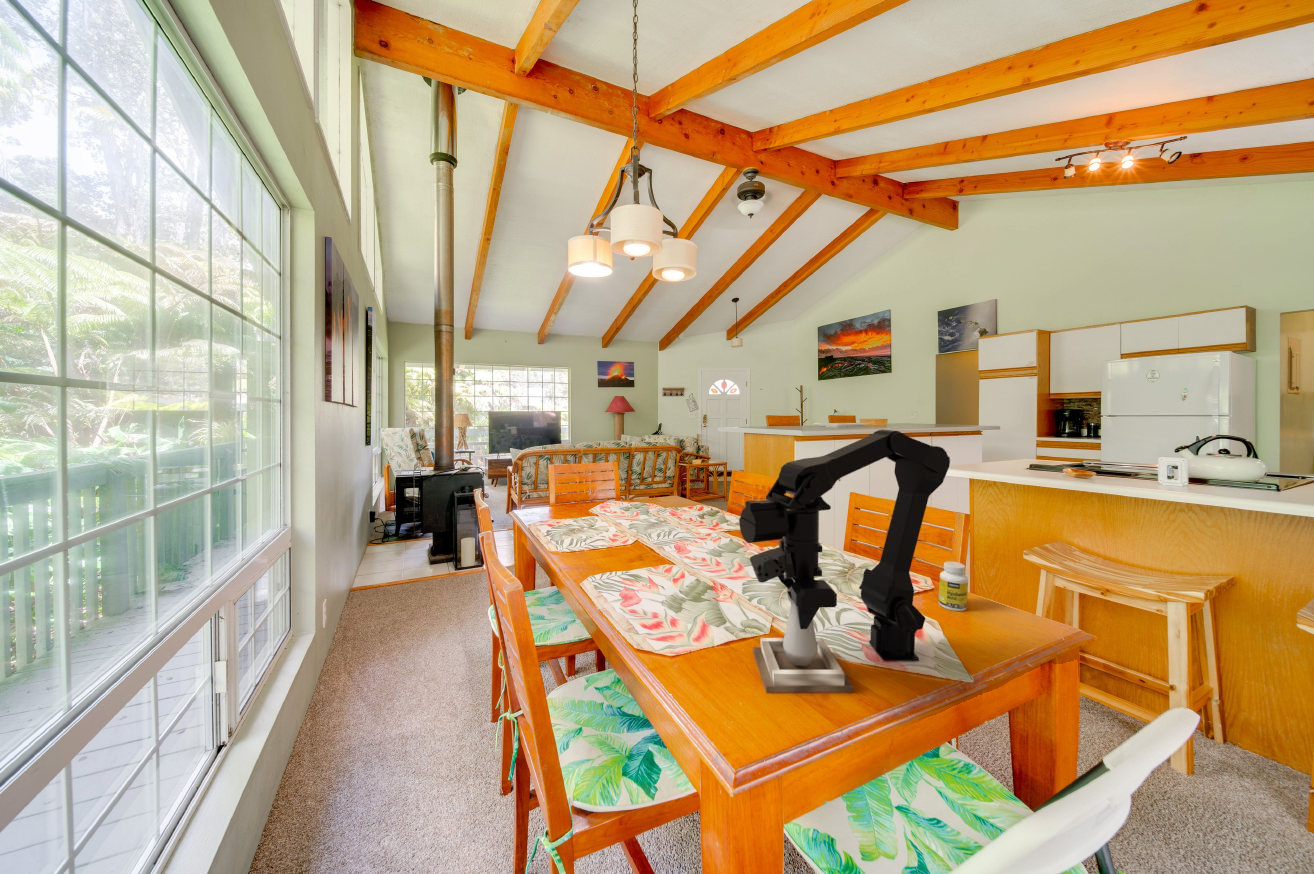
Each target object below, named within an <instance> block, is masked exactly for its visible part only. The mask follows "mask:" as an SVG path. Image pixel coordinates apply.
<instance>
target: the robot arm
mask: <svg viewBox="0 0 1314 874" xmlns="http://www.w3.org/2000/svg"><path fill="white" fill-rule="evenodd" d="M884 458H887V459H888V460H890V461H892V462H893V463H895V464H894V471H893V472H894V475H895V479H896V482H897V483H896V484H897V486H898V491H897V495H896V499H895V502H894V507H893V510H892V514H891V519H890V521H889V526H888V529H887V534H886V537H885V542H884V545H883V549H882V553H881V556H880V560H879V563H878V564H877V565H876V566H874V567H873V568H872V569H869V568H865V569H864V571H863V573H862V574H863V576H862V581H861V584H860V585H859V587H858V589H859V590H860V599H861V600H862V602H863V604H864V605H865V606H866V610H867V612H868V613H869V614H871V615H873V624H871V625H870V640H869V641H868V643H869V645H870V646H871V647H872V649H873V650H874V651H875V652H876V654H877V655H878V656H879V658H880V659H881V660H882V661H884V662H919V661H920V658H919V656H918V655H917V654H916V653H915V649H916V648H915V645H916V644H915V643H916V641H915V640H916V633H917V631H918V630H919V631H920V630H923V627H924V624H925V622H926V617H925V615H923V613H921V612H920V611H919V609H917V608H916V607H915V605H913V603H914V595H915V589H914V586H913V582H912V577H911V575H910V570H911V567H912V562H913V558H914V555H915V550H916V546H917V543H918V539H919V536H920V531H921V528H922V523H923V521H924V517H925V514H926V509H927V506H928V502H929V498H930V497H931V495H932V494H933V493H934V492H935V491H936V490H937V489H938V488H939V487H940V486H941V485H942V484H943V483H944V480H945V478H946V475H947V473H948V471H949V468H950V465H951V464H950V463H951V458H950V456H949V455H948V452H947V451H946V450H945V449H944V447H941V446H938V445H930V444H928V443H925V442H923V441H920V440H917V439H915V438H914V437H913V438H912V437H910V436H908V435H906V434H905V433H902V431H899V430H893V429H891V430H890V429H878V430H876V431H874V432H873V433H872V434H870V435H868V436H866V437H863V438H861V439H859V440H857V441H855V442H851V443H850V444H847V445H845V446H842V447H840V448H838V449H836V450H833V451H832V452H829V453H827V454H825V455H821V456H815V457H807V458H801V459H800V458H799V459H797V460H792V461H788V462H786V463H785V464H783V465H782V466H781V467H780V470H779V471H780V472H779V474H778V477H777V478H776V480H775V482H774V483H773V485H772V487H771V488H770V490H769V491H768V493H767V494H766V496H765V499H764V500H754V499H753V500H752V499H751V500H746V501H745V507H744V508H743V509H742V510H741V512H740V517H739V521H738V522H739V530H740V533H741V536H742V538H743V540H744V541H745V542H746V544H747V543H748V544H754V543H763V542H769V541H771V542H772V541H779V542H778V547H776V548H771V549H768V550H765V551H762V552H759V553H757V554H754V555H752V556H750V557H749V562H750V563H751V566H752V569H753V572H754V574H755V576H756V579H757V581H758V582H759V583H765V582H768V581H769V580H772V579H774V578H778V579H779V581H780V583H782V584H783V586H785V587H786V589H787V591H786V593H787V596H788V595H789V596H790V598H791V599H792V600H793V601H794V603H795V605H796V608H797V614H798V620H799V625H800V629H807V628H808V627H809V625H810V623H811V621H812V620H813V621H814V618H815V616H816V615H817V613H818V611H819V609H820V608H835V607H837V605H838V603H837V601H838V594H837V593H836V592H835V590H834V589H833V588H832V587H831V585H830V584H829V583H828V582H826V580H824V579H815V577H823V570H822V568H821V567H820V566H819V554H820V553H823V545H821V544H820V541H819V539H820V538H819V537H820V536H819V535H820V533H819V532H820V531H819V530H820V525H819V524H820V522H819V521H820V511H822V512H823V511H829V510H831V509H832V508H831V505H830V504H828V503H827V502H826V501H825V500H824V499H823V495H825V494H826V493H828V492H829V491H830V490H832V489H833V487H834V486H835V484H836V483H837V481H839V480H840V479H842V478H843V477H846V476H847V475H850V474H852V473H855V472H856V471H857V472H858V471H859V470H861V469H863V468H866V467H867V466H870V465H871V464H874V463H876V462H878V461H881V460H883V459H884ZM786 494H788V495H786ZM789 495H790V496H789ZM791 495H792V496H791ZM790 587H791V591H788V589H789V588H790Z"/></svg>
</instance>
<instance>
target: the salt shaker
mask: <svg viewBox="0 0 1314 874" xmlns="http://www.w3.org/2000/svg"><path fill="white" fill-rule="evenodd" d="M787 591H791V587H790V588H789V589H788V590H787ZM787 599H788V601H789V602H790V608H789V613H788V618H787V623H786V627H785V631H784V636H783V638H784V641H783V648H784V651H785V654H786V656H787V658H788V660H789V661H790V662H792V663H793V664H795V665H800V666H807V665H809V664H810V663H812V662H813V660H814V658H815V656H816V654H817V651H818V648H817V642H816V638H817V637H816V633H815V632H816V631H815V626H814V625H815V624H814V619H813V620H812V621H811V623H810V625H809V627H808V628H807V629H800V625H799V620H798V614H797V608H796V605H795V603H794V601H793V600H792V599H791V598H790V596H789V595H788V594H787Z"/></svg>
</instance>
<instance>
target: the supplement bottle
mask: <svg viewBox="0 0 1314 874" xmlns="http://www.w3.org/2000/svg"><path fill="white" fill-rule="evenodd" d="M965 572H966V566H965V565H964V564H963V563H960V562H957V561H945V562H944V563H943V571H941V572H940V574H939V582H938V583H939V586H938V589H939V590H938V605H939V606H940V607H942V608H944V609H946V610H949V611H953V612H963V611H966V609H967V604H968V588H969V578H968V576H967V575H966V574H965Z"/></svg>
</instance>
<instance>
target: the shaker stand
mask: <svg viewBox="0 0 1314 874" xmlns="http://www.w3.org/2000/svg"><path fill="white" fill-rule="evenodd" d="M783 641H784V637H760V646H758V647H757V646H754V647H753V648H752V649H753V650H752V651H753V652H752V653H753V656H754V658H755V661H756V664H757V665H756V666H757V668H758V671H759V674H760V677H761V682H762V684H763V687H764V689H765V693H766V694H767V693H769V694H771V693H773V694H774V693H775V694H776V693H778V694H779V693H780V694H781V693H784V694H785V693H790V694H791V693H793V694H794V693H804V694H805V693H806V694H807V693H816V694H817V693H818V694H819V693H822V694H823V693H826V694H831V693H833V694H837V693H838V694H839V693H840V694H842V693H843V694H844V693H845V694H848V693H850V694H851V693H852V694H853V693H854V685H853V684H852V683H851V681H850V679H849V678H848V676H847V674H846V673H845V671H844V669H842V667H841V665H840V664H839V662H838V660H837V659H836V657H835V656H834V654H833V652H832V651H831V648H830V647H828V645H827V643H826V642H825V640H824V639H823V637H816V642H817V648H818V651H817V654H816V656H815V658H814V660H813V662H812V663H810V664H809V665H807V666H800V665H795V664H793V663H792V662H790V661H789V660H788V658H787V656H786V654H785V651H784V648H783Z"/></svg>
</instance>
